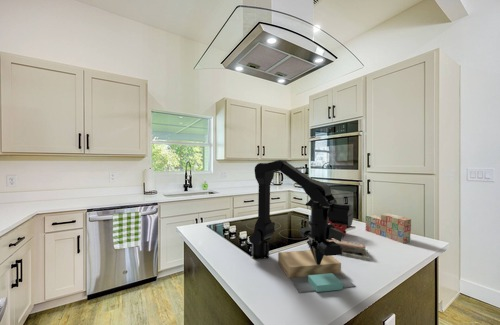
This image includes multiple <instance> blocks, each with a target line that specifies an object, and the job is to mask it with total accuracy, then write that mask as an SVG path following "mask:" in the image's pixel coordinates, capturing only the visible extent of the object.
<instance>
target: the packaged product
mask: <svg viewBox="0 0 500 325" xmlns="http://www.w3.org/2000/svg"><path fill="white" fill-rule="evenodd" d="M327 241H329V242H331V241H334V242H335V243H337V244H338V245H340V246H341V247H342V255H341V256H343V257H348V258H352V259H357V260H363V261H369V260H370V256H369V255H370V254H369V250H368V249H366V246H365V245H364V244H361V243H356V242H350V241H346V240H341V242H340V241H338V240H336V239H333V238H332V240H327Z"/></svg>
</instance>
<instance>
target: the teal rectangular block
mask: <svg viewBox="0 0 500 325" xmlns="http://www.w3.org/2000/svg"><path fill="white" fill-rule="evenodd" d="M308 282H309V283H310V284H311V286H312V287H313V288H314V289H315V291H314V292H316V293H321V292H330V291H339V290H343V289H344V288H343V283H342V282H341V281H340V280H339V279H338V278H337V277H336V276H335V275H333V274H332V273H329V274H318V275H308Z"/></svg>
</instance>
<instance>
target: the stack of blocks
mask: <svg viewBox="0 0 500 325" xmlns="http://www.w3.org/2000/svg"><path fill="white" fill-rule="evenodd" d="M411 229H412V218H408V217H405V216H403V215H397V214H392V213H388V212H386V213H381V215H380V216H379V215H377V214H376V215H375V214H368V215H365V231H366V232H369V233H372V234H375V235H378V236H380V237H383V238H385V239H386V238H387V239H389V240H392V241H395V242H398V243H401V244H406V243H410V242H411V231H412V230H411Z"/></svg>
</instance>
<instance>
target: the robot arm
mask: <svg viewBox="0 0 500 325" xmlns="http://www.w3.org/2000/svg"><path fill="white" fill-rule="evenodd" d="M278 172H280V173H282V174H283V175H285V177H287V178H289V179H290V180H291V181H292V182H295V184H297V185H299V187H301V188H302V189H303V190H304V191H303V192H305V194H306V195H307V196H308V197H309V198H310V199H309V200H308V201H307V202H306V203H304V204H305V206H306V207H310V209H311V210H310V211H311V212H310V220H308V225H309V226H310V227H302V228H301V229H300V230H299V236H300V237H302V238H305V237H306V236H307V237H308V240H306V244H307V246H308V248H309V249H310V250H311V252H312V254H313V257H314V259H315V262H316V264H317V265H320V264H321V261H322V259H323V256H324V255H325V256H342V247H341V246H340V245H338V244H337V243H335V242H334V241H331V242H329V241H327V240H332V239H336V240H338V241H340V242H341V241H343V237H344V236H345V235H344V233H343V232H341V231H339V230H337V229H335V228H334V225H332V224H330V223H328V219H329V221H331V222H332V223H335V224H340V225H345V226H347V227H352V224H353V220H354V213H353V209H352V205H351V204H348V203H347V204H346V203H345V204H343V203H339V202H338V201H337V199H336V198H335V197H334V195H333V194H332V190H331V189H332V188H331V186H329V185H328V184H327V183H324V182H322V181H320V180H318V179H317V180H316V179H315V178H311V177H309V176H308V175H307V174H305V173H303V172H302V171H301V170H299V169H298V168H297V167H295V166H293V165H292V164H290V163H289V162H288V161H287V160H285V159H278V160H275V161H271V162H259V163H257V164H255V166H254V177H255V180H256V182H257V185H258V194H257V195H258V196H257V197H258V198H257V200H258V202H257V203H258V207H257V211H258V212H257V214H258V215H257V216H258V217H257V220H256V221H255V224H254V227H253V228H254V229H253V233H251V235H250V236H248V242H249V244H251V251H250V253H251V256H252V259H253V260H261V259H269V254H270V253H269V252H270V245H269V242H268V241H270V240H271V238H272V237H273V235H274V233H275V232H276V230H275V224H276V223H275V222H274V221H272V220H271V215H270V214H271V183H272V181H273V179H274V176H275V173H278ZM343 235H344V236H343Z"/></svg>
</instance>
